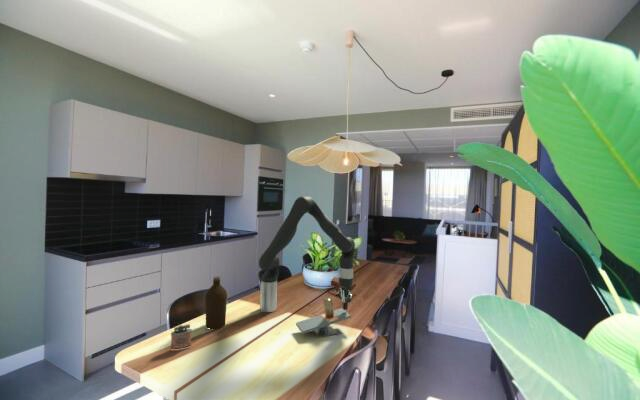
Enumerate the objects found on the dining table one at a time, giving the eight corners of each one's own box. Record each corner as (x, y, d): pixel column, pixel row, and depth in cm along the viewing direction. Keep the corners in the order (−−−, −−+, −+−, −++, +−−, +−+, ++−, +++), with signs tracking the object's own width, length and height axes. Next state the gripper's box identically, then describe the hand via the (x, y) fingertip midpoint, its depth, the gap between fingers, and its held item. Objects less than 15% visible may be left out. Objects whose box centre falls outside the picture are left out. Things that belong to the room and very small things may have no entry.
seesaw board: (302, 334, 134) (302, 331, 134) (296, 325, 143) (295, 322, 143) (350, 317, 144) (350, 314, 144) (341, 310, 153) (341, 307, 153)
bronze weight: (327, 319, 142) (325, 302, 141) (324, 315, 146) (322, 299, 145) (335, 316, 144) (333, 299, 143) (332, 313, 148) (329, 296, 147)
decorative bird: (368, 291, 196) (362, 272, 193) (349, 306, 187) (343, 286, 183) (342, 280, 220) (337, 263, 216) (324, 293, 210) (318, 276, 207)
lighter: (170, 352, 121) (171, 328, 120) (170, 348, 124) (171, 325, 123) (191, 348, 124) (192, 325, 124) (191, 344, 127) (191, 322, 127)
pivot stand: (318, 338, 136) (319, 328, 136) (309, 327, 147) (310, 318, 147) (337, 335, 140) (337, 325, 140) (327, 324, 151) (327, 316, 151)
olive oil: (222, 330, 141) (223, 280, 141) (200, 330, 141) (202, 279, 141) (229, 321, 151) (230, 274, 151) (209, 320, 152) (210, 274, 151)
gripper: (333, 273, 152) (333, 305, 153) (345, 280, 140) (344, 315, 140) (346, 272, 155) (345, 303, 155) (358, 278, 143) (357, 313, 143)
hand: (345, 309), depth 148 cm, fingers closed
